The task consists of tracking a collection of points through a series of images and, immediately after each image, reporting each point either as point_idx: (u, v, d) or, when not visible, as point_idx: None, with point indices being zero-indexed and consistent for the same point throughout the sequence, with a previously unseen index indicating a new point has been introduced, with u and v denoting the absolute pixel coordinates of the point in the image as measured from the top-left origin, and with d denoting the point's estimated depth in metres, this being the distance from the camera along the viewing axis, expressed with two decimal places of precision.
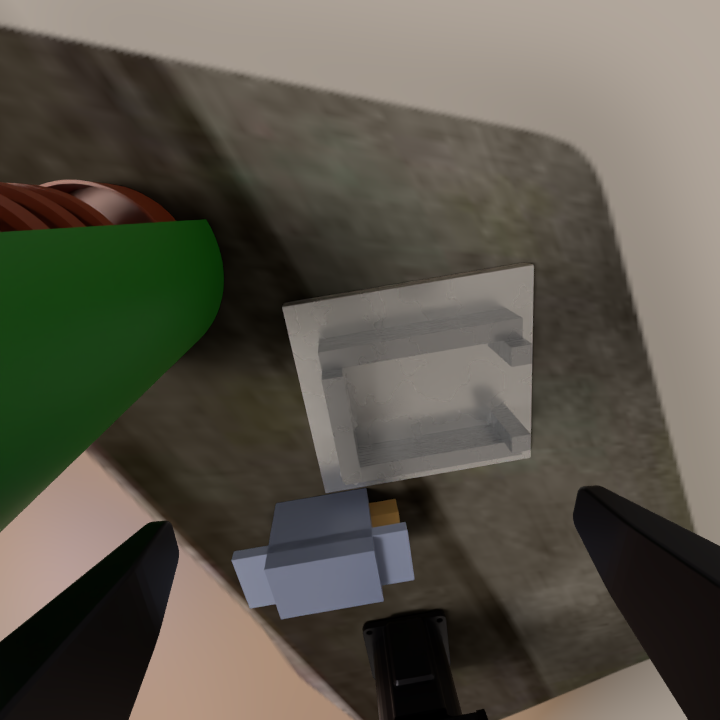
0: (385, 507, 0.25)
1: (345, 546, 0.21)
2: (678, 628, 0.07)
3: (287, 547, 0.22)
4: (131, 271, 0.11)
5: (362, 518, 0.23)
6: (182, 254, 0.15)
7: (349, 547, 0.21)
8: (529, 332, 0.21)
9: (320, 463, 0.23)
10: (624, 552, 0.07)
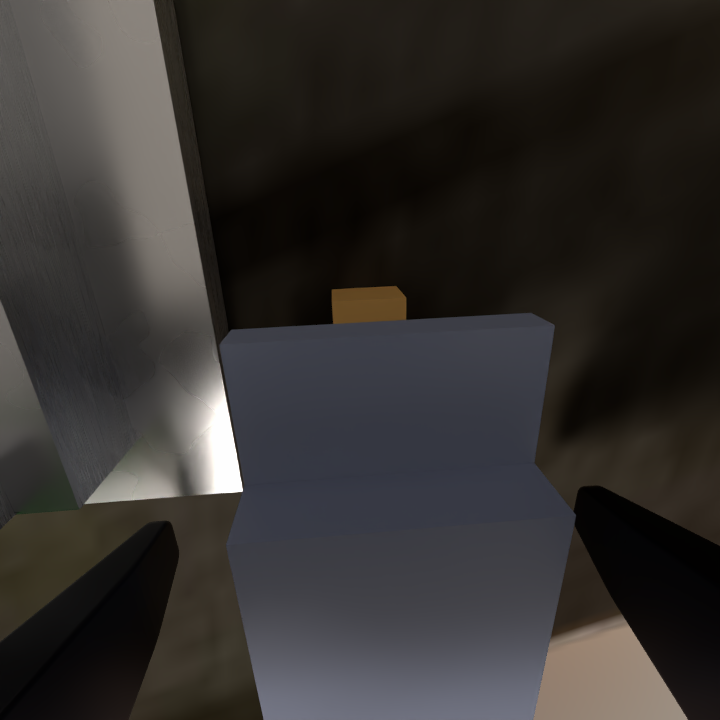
0: None
1: None
2: (677, 628, 0.07)
3: None
4: None
5: None
6: None
7: None
8: None
9: (140, 495, 0.09)
10: (624, 552, 0.07)
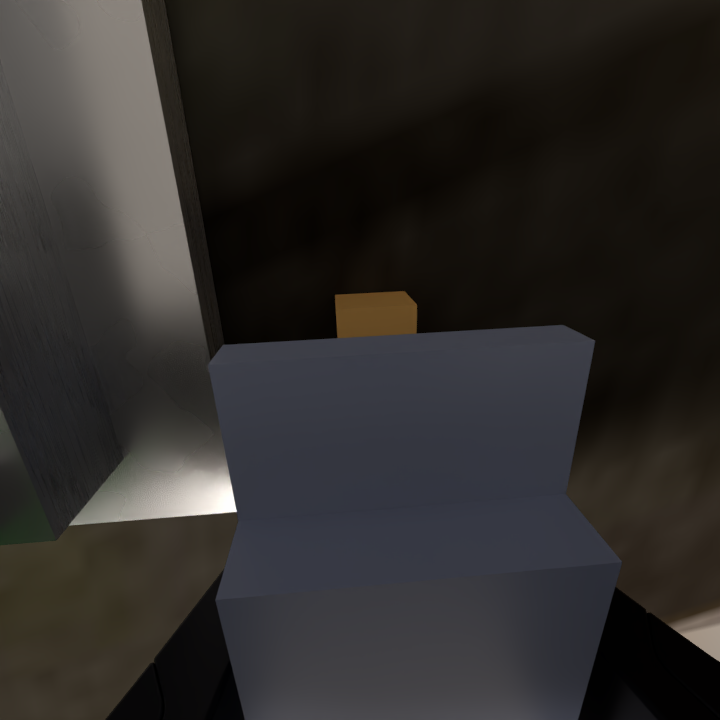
0: None
1: None
2: None
3: None
4: None
5: None
6: None
7: None
8: None
9: (128, 516, 0.08)
10: None
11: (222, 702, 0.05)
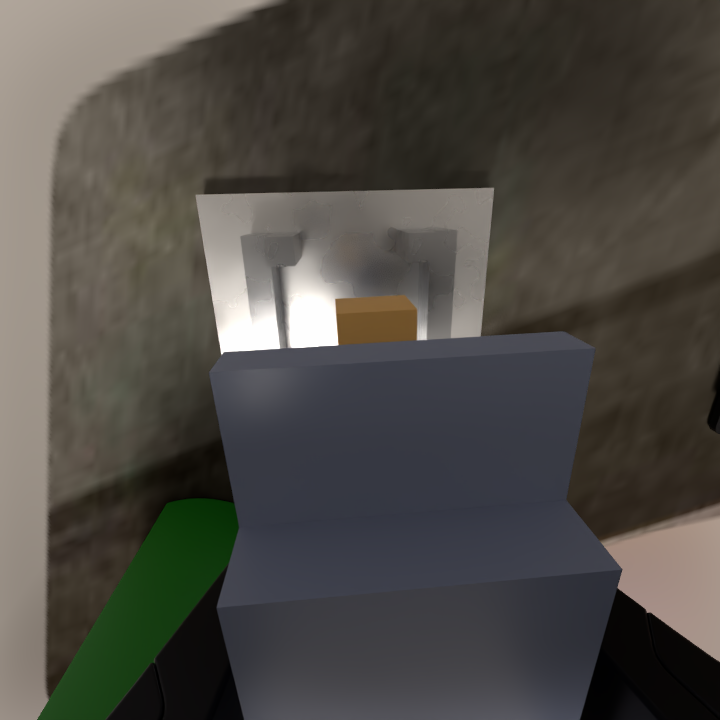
0: None
1: None
2: None
3: None
4: (92, 680, 0.13)
5: None
6: (146, 576, 0.17)
7: None
8: (289, 196, 0.16)
9: None
10: None
11: (222, 703, 0.05)
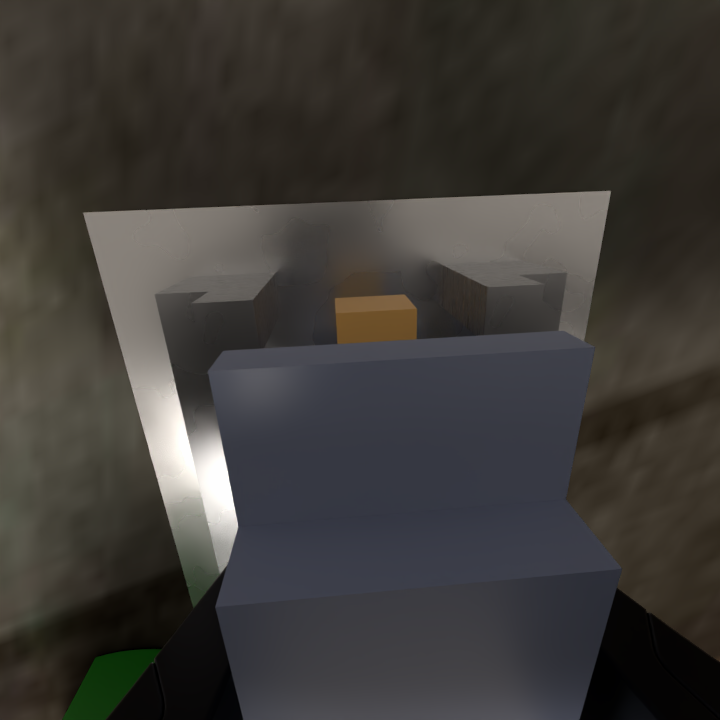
0: None
1: None
2: None
3: None
4: None
5: None
6: None
7: None
8: (253, 213, 0.09)
9: None
10: None
11: (222, 702, 0.05)
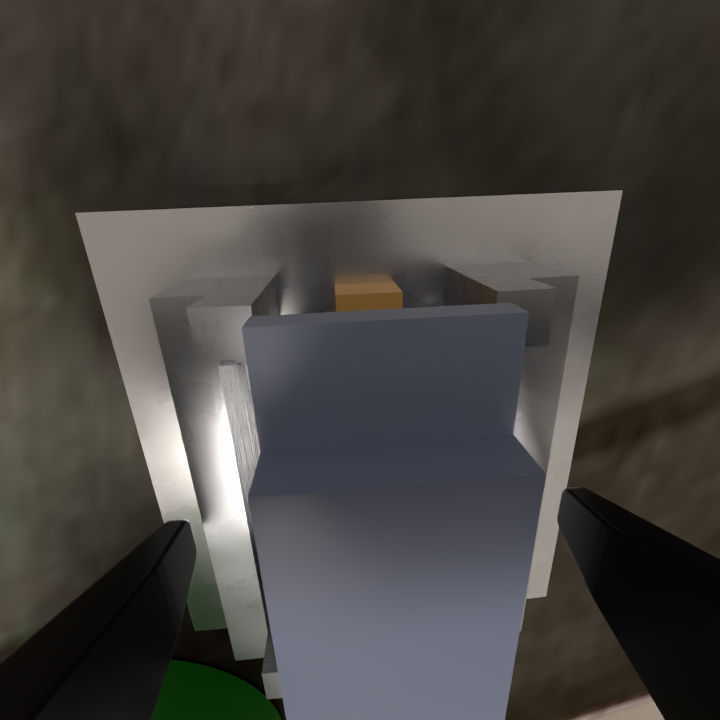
0: None
1: None
2: (657, 630, 0.07)
3: None
4: None
5: None
6: None
7: None
8: (252, 213, 0.08)
9: None
10: (605, 554, 0.07)
11: None
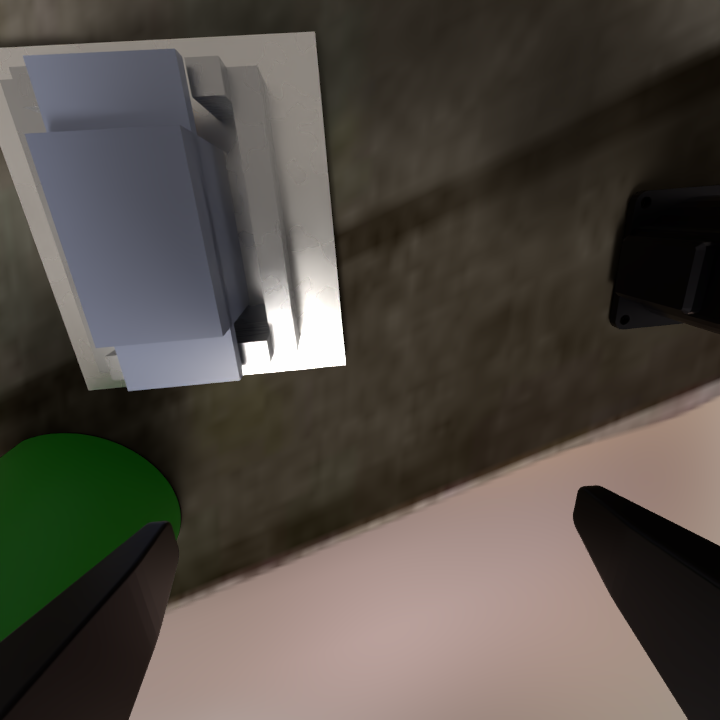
0: None
1: None
2: (678, 628, 0.07)
3: None
4: None
5: None
6: None
7: None
8: (77, 49, 0.14)
9: (298, 367, 0.19)
10: (624, 552, 0.07)
11: None
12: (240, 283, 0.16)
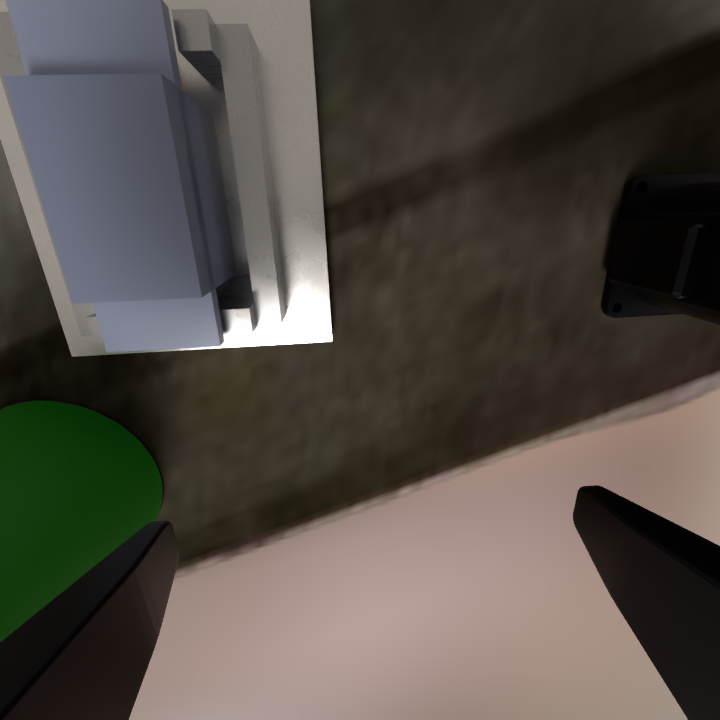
0: None
1: None
2: (677, 628, 0.07)
3: None
4: None
5: None
6: None
7: None
8: None
9: (284, 342, 0.18)
10: (624, 552, 0.07)
11: None
12: (226, 251, 0.16)
